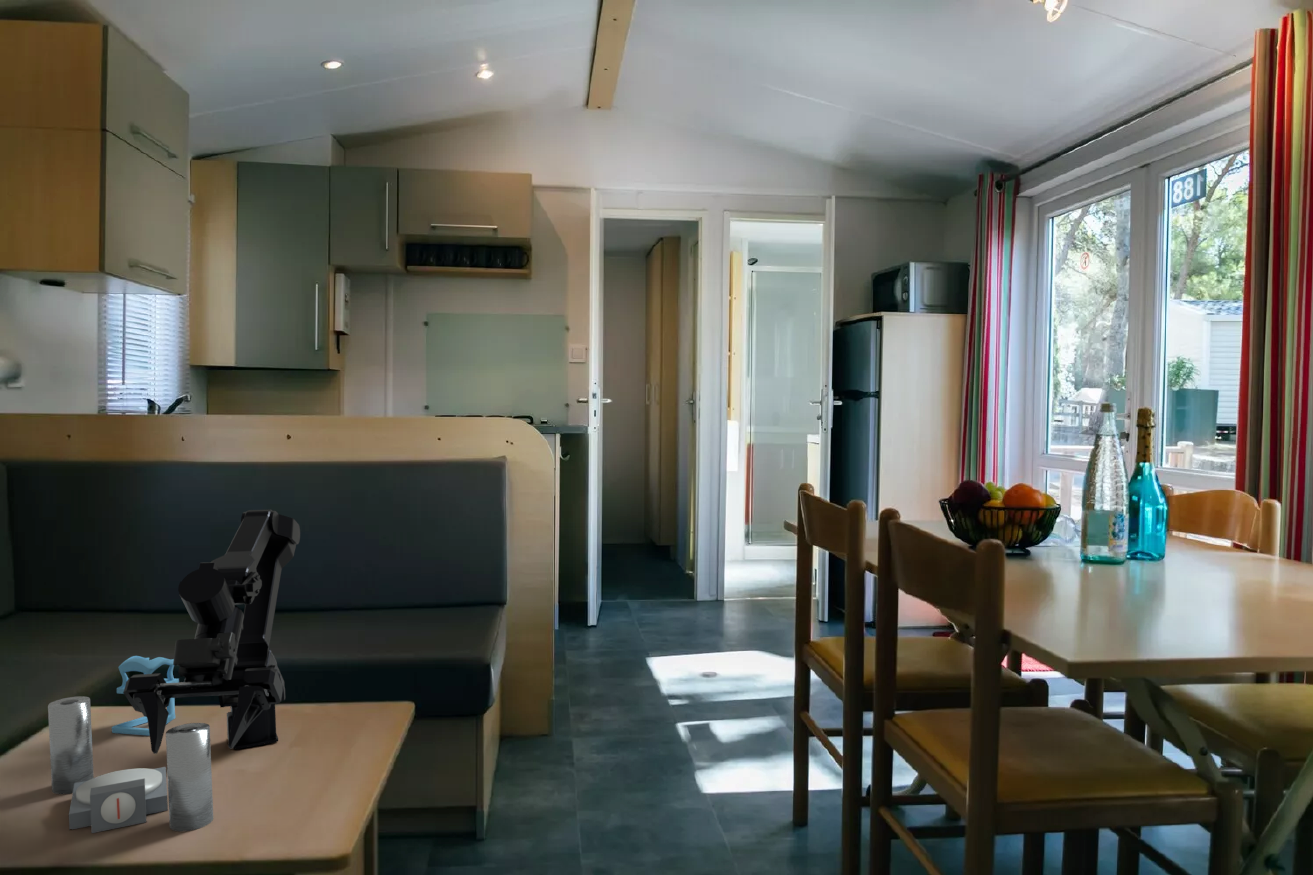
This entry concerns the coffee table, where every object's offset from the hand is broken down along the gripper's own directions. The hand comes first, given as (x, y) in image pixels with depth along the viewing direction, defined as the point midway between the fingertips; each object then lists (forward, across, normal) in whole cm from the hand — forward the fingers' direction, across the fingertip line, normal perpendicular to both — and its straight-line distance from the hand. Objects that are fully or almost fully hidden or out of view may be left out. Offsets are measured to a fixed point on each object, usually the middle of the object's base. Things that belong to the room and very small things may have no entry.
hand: (192, 749), depth 121 cm
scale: (+3, -11, +10) cm, 15 cm away
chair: (-21, -19, +33) cm, 44 cm away
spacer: (-4, -20, +16) cm, 26 cm away
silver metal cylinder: (+7, 0, +6) cm, 9 cm away
